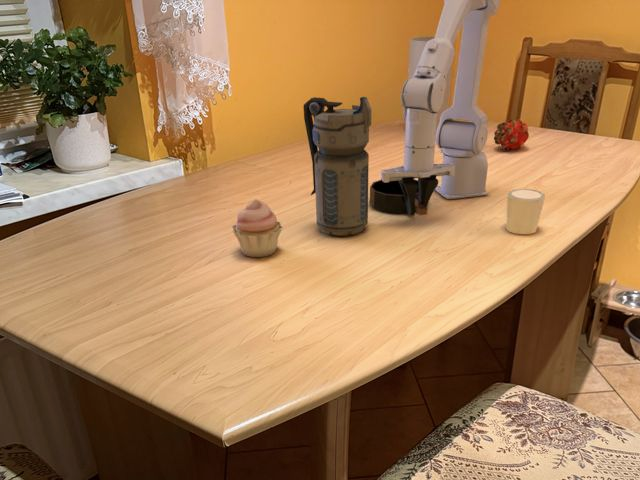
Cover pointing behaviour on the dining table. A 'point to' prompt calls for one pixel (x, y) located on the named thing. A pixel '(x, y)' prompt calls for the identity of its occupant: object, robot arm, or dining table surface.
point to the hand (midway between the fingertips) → (415, 213)
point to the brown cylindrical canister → (339, 164)
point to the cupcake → (257, 230)
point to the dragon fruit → (511, 134)
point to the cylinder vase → (414, 57)
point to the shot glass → (523, 210)
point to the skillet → (392, 198)
